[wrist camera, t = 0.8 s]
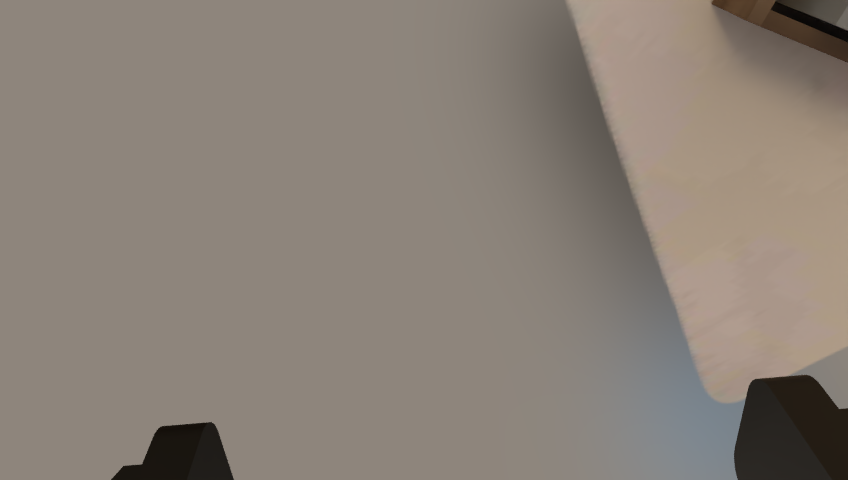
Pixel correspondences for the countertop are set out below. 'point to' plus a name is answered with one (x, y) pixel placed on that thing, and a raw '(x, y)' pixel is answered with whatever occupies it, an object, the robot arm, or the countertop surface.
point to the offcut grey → (822, 10)
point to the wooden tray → (784, 25)
